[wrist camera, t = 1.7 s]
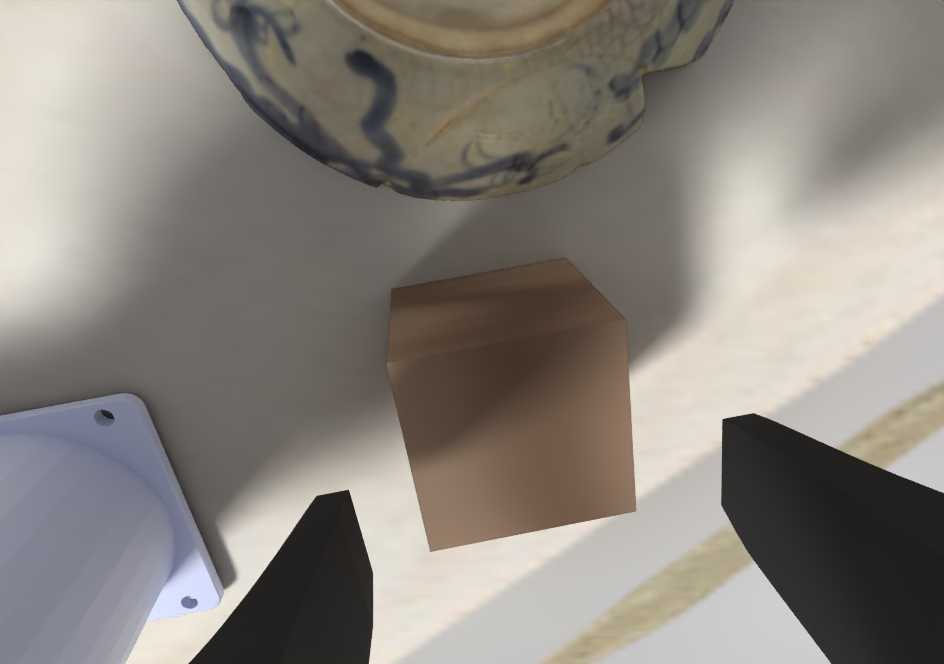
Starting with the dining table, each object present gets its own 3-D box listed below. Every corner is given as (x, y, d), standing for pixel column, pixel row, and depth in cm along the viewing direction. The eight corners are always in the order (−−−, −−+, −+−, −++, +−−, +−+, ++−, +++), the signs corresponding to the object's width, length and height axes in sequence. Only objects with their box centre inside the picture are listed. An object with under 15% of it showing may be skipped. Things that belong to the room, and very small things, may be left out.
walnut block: (424, 437, 18) (430, 551, 14) (391, 288, 16) (386, 363, 12) (579, 408, 19) (636, 511, 14) (564, 257, 17) (625, 319, 12)
